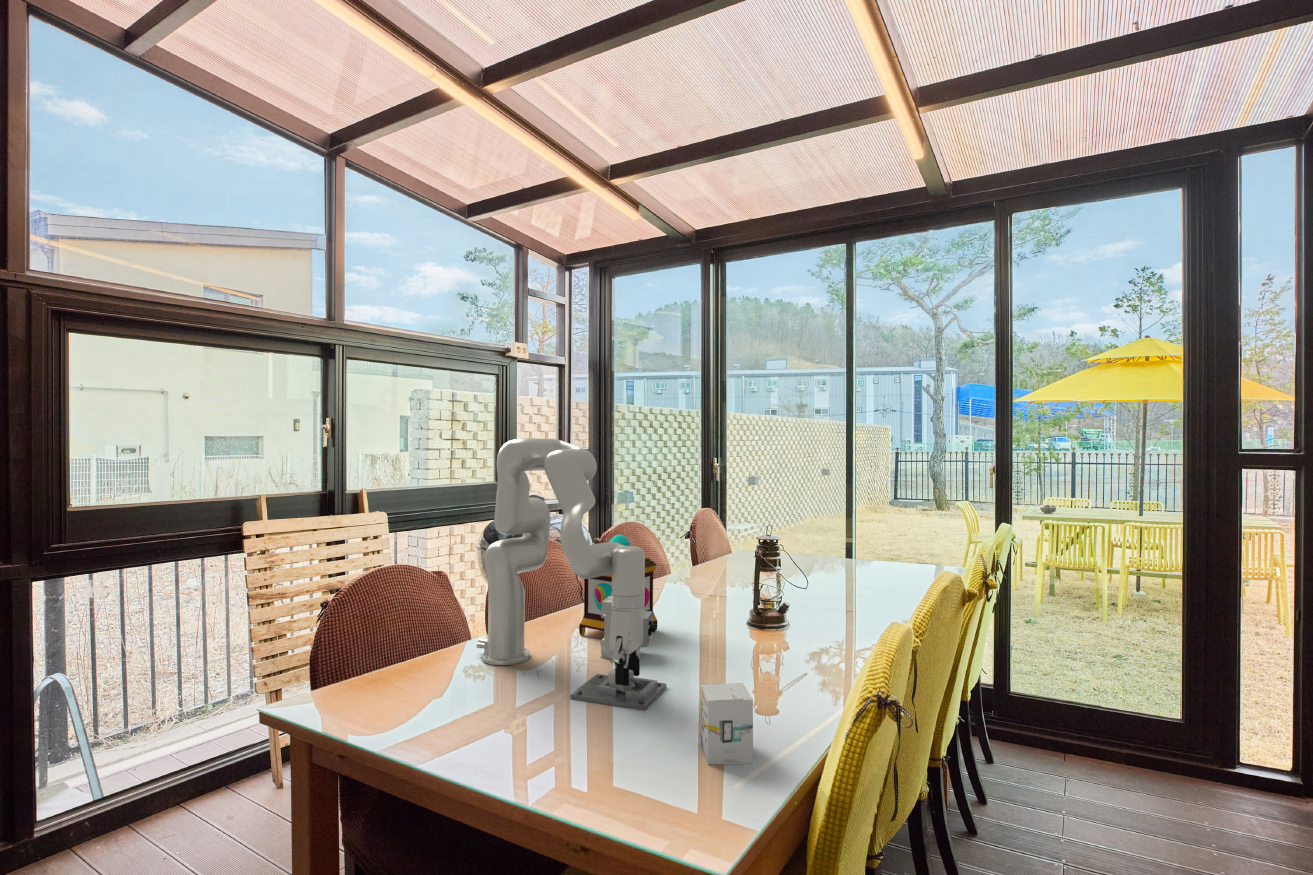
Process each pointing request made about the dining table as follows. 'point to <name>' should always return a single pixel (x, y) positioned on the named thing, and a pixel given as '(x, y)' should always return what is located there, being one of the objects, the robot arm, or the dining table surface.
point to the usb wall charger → (620, 687)
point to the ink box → (726, 724)
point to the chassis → (619, 693)
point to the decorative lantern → (602, 589)
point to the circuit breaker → (607, 609)
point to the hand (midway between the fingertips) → (627, 679)
